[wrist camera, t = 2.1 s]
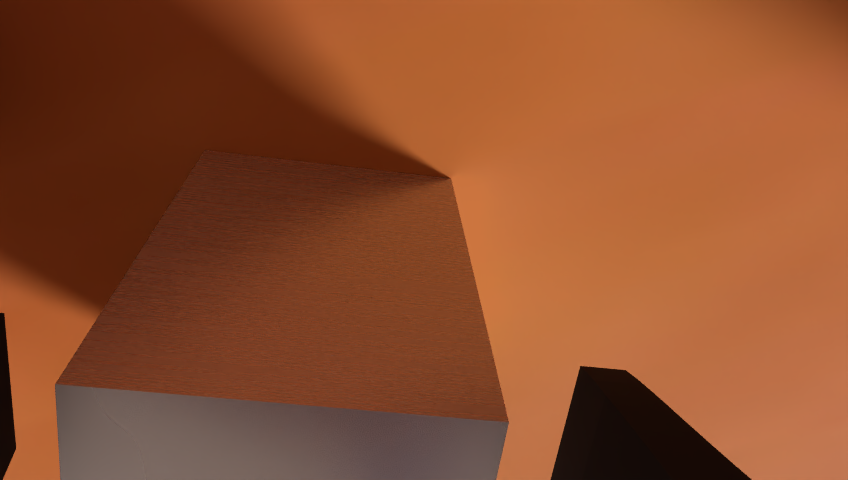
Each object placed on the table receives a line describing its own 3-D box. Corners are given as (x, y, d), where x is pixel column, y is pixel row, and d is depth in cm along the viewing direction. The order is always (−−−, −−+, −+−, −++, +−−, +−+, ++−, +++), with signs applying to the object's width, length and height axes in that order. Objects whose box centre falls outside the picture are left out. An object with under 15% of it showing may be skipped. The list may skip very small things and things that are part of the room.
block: (418, 380, 15) (443, 712, 9) (198, 360, 14) (73, 696, 8) (451, 178, 13) (508, 422, 7) (204, 149, 13) (55, 384, 7)
